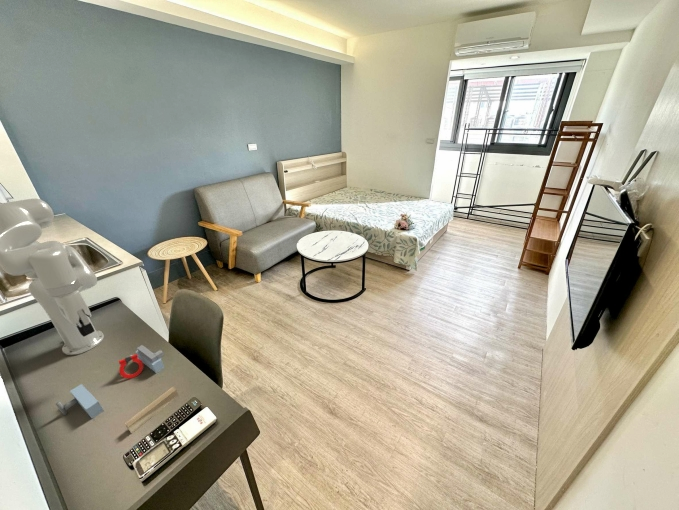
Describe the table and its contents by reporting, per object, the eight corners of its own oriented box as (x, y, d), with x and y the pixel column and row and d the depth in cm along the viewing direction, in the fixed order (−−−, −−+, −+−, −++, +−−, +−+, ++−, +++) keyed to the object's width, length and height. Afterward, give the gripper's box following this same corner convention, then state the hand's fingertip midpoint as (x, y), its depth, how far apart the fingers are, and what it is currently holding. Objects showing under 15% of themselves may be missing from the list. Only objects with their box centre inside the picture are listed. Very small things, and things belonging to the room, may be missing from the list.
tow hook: (122, 382, 93) (115, 362, 93) (126, 376, 102) (120, 358, 102) (145, 372, 97) (139, 352, 97) (147, 367, 105) (141, 349, 106)
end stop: (128, 429, 79) (124, 423, 78) (174, 392, 90) (172, 386, 89) (131, 433, 79) (128, 427, 77) (178, 395, 89) (176, 389, 88)
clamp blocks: (59, 410, 85) (50, 397, 82) (151, 352, 106) (146, 340, 103) (75, 430, 79) (66, 417, 76) (169, 365, 100) (164, 352, 98)
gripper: (38, 286, 84) (65, 332, 92) (56, 301, 77) (83, 349, 85) (69, 275, 90) (92, 319, 98) (89, 288, 83) (111, 334, 91)
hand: (88, 333), depth 91 cm, fingers closed
